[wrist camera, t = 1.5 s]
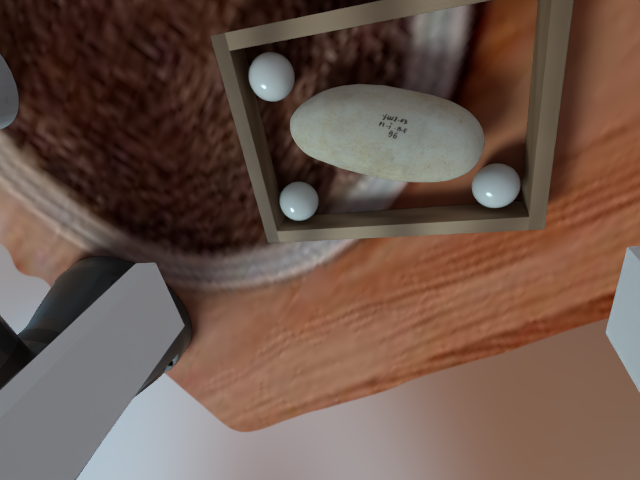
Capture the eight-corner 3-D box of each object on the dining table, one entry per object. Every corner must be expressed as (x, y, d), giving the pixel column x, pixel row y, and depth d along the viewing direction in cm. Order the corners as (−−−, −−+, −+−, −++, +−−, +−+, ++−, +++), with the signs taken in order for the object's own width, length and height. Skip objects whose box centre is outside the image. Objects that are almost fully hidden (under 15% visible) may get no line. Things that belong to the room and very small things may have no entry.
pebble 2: (468, 198, 28) (474, 217, 26) (469, 159, 27) (475, 175, 24) (513, 195, 28) (523, 214, 25) (516, 154, 26) (527, 170, 24)
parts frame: (277, 227, 33) (268, 242, 31) (226, 33, 26) (210, 36, 24) (534, 212, 28) (544, 229, 26) (561, -37, 21) (578, -42, 19)
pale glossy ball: (290, 211, 32) (279, 228, 29) (282, 177, 31) (270, 193, 28) (324, 208, 31) (317, 226, 29) (318, 173, 30) (309, 189, 27)
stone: (281, 77, 24) (486, 74, 19) (327, 94, 30) (495, 95, 24) (276, 170, 25) (467, 192, 20) (321, 170, 31) (479, 187, 26)
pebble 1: (263, 99, 28) (248, 108, 25) (252, 53, 26) (236, 59, 24) (303, 93, 27) (292, 102, 24) (294, 45, 25) (281, 50, 23)
